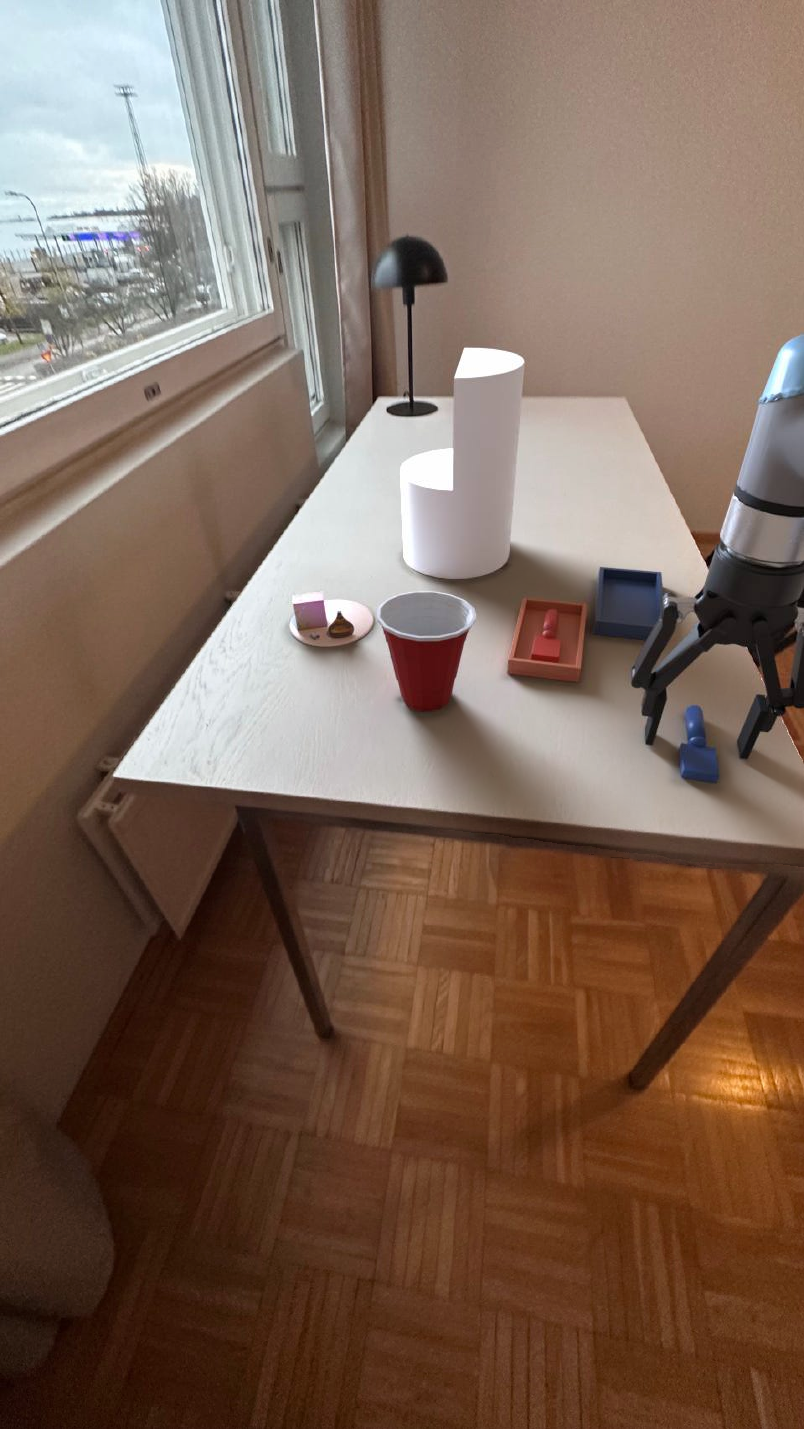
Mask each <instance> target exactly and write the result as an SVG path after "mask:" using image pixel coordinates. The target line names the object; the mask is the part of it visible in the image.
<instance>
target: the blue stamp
mask: <svg viewBox="0 0 804 1429" xmlns="http://www.w3.org/2000/svg"><path fill="white" fill-rule="evenodd" d="M684 717H685V727H686V736H687V743H686V742H681V743H680V745H679V747H678V757H679V758H678V760H679V768H680V778H681V779H687V780H694V781H699V782H700V781H701V782H707V783H714V784H716V783H718V780H719V778H720V770H719V764H718V763H719V762H718V757H717V750H716V747H714V746H707V744H708V742H707V741H708V740H707V735H706V734H707V733H706V725H705V718H704V711H703V708H702V707H700V706H699V705H697V704H690V705H688V706H687V707H686V709H685V711H684Z"/></svg>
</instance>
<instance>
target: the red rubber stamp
mask: <svg viewBox="0 0 804 1429" xmlns="http://www.w3.org/2000/svg"><path fill="white" fill-rule="evenodd" d="M558 619H559V613H558V612H557V611H556V610H555V609H550V610H548V611H547V612H546V614H545V620H544V625H543V630H542V636H535V639H534V644H533V649H532V654H531V660H535V661H543V662H551V663H558V662H559V655H560V648H561V641H562V639H559V638H556V632H557V625H558Z"/></svg>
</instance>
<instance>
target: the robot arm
mask: <svg viewBox="0 0 804 1429" xmlns="http://www.w3.org/2000/svg"><path fill="white" fill-rule="evenodd" d="M754 419H755V420H754V422H753V425H752V430H751V434H750V437H749V440H748V441H749V442H748V444H747V448H746V451H745V455H744V458H743V461H742V464H741V468H740V471H739V474H738V475H739V476H738V478H737V479H736V482H735V486H734V489H733V493H732V496H731V498H730V499H731V500H730V502H729V505H728V508H727V512H726V515H725V517H724V520H723V524H722V527H721V529H720V534H719V538H720V541H719V542H717V544H716V546H715V549H714V553H713V556H712V558H711V562H710V565H709V569H708V572H707V575H706V578H705V582H704V585H703V586H702V588H701V589H700V591H697V593H696V594H695V596H694V597H691V596H689V597H677V595H676V594H675V593H674V592H671V591H670V592H666V593H664V594H663V600H662V610H661V615H660V617H659V618H658V620H657V622H656V624H655V626H654V628H653V629H652V631H651V633H650V635H649V637H648V639H647V640H645V642H644V644H643V646H642V648H641V649H640V651H639V653H638V655H637V657H636V659H635V661H634V662H633V664H632V666H631V668H630V685H631V687H632V688H634V689H640V688H641V689H643V690H644V692H643V696H642V700H641V703H640V704H641V706H640V707H641V715H642V717H647V720H646V723H645V726H644V744H645V746H646V745H647V746H654V743H655V740H656V736H657V733H658V730H659V726H660V723H661V719H662V716H663V714H664V710H665V706H666V703H667V700H668V696H667V695H668V694H667V688H668V687H669V686H670V685H671V684H672V683H673V682H674V681H675V680H676V679H677V678H678V677H679V676H680V675H681V674H682V673H683V672H684V671H685V670H686V669H687V668H688V667H690V666H691V665H692V664H693V662H695V661H696V660H697V659H698V658H699V657H700V656H701V655H702V654H703V653H708V652H709V651H710V650H711V649H712V648H713V647H714V646H715V645H723V646H728V645H736V646H739V647H742V648H751V649H752V648H753V646H756V652H757V656H758V661H759V665H760V669H761V670H760V671H761V674H762V675H761V676H762V678H763V682H764V688H765V693H766V694H761V693H756V694H755V697H754V699H753V701H752V704H751V706H750V708H749V711H748V713H747V715H746V718H745V720H744V723H743V724H742V727H741V730H740V732H739V734H738V737H737V739H736V746H737V751H738V756H739V759H742V760H749V758H750V755H751V753H752V750H754V747H755V744H756V742H757V740H758V738H759V735H760V734H761V733H767V734H768V733H769V732H770V731H771V730H772V729H773V728H774V725H775V723H776V721H777V719H778V717H781V716H784V715H785V714H786V712H787V709H786V708H789V707H794V708H795V709H801V710H802V709H804V607H800V606H798V601H799V599H800V598H801V595H802V593H803V590H804V333H803V334H800V335H798V336H797V335H796V336H795V337H793V338H791V339H790V340H788V341H787V342H786V343H784V344H783V346H782V347H781V348H780V350H779V351H778V353H777V356H776V358H775V361H774V364H773V367H772V369H771V372H770V374H769V377H768V379H767V382H766V384H765V387H764V390H763V393H762V395H761V396H760V397H759V399H758V408H757V410H756V414H755V418H754ZM690 613H694V614H695V615H696V617H697V619H698V620H697V622H696V623H695V624H694V625H693V626H692V628H691V630H690V632H689V633H688V634H687V635H686V636H685V637H684V638H683V639H682V640H681V641H680V642H679V643H678V644H677V645H676V646H675V647H674V648H673V649H672V650H671V651H670V652H669V653H668V654H667V655H666V656H665V657H664V658H663V659H662V661H660V662H659V663H658V661H659V659H660V657H661V655H662V653H663V652H664V651H665V648H666V647H667V645H668V643H669V642H670V640H671V638H672V637H673V635H674V632H675V630H676V627H677V624H682V622H683V621H685V619H686V617H687V615H688V614H690ZM793 623H794V626H795V630H796V632H797V634H796V639H795V646H794V650H793V651H794V653H793V657H792V658H793V659H792V664H791V671H790V677H789V678H790V679H789V684H788V687H784V688H782V686H781V682H780V677H779V670H778V666H777V662H776V657H775V650H774V645H773V642H772V641H773V640H772V637H773V636H775V635H776V634H778V633H779V632H781V631H782V630H784V629H785V628H787V627H788V626H790V625H791V624H793ZM657 663H658V664H657ZM656 664H657V665H656Z"/></svg>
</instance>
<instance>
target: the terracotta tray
mask: <svg viewBox="0 0 804 1429" xmlns="http://www.w3.org/2000/svg"><path fill="white" fill-rule="evenodd" d="M550 609H555V610H556V611H557V612H558V613H559V619H558V625H557V632H556V638H559V639H562V641H561V648H560V655H559V662H558V663H551V662H543V661H535V660H531V654H532V649H533V644H534V639H535V636H542V630H543V625H544V620H545V614H546V612H547V611H548V610H550ZM587 610H588V603H584V602H583V603H582V602H573V601H564V600H553V599H545V598H533V597H522V600H521V606H520V608H519V613H518V617H517V621H516V626H515V631H514V633H513V638H512V642H511V646H510V649H509V650H510V651H509V656H508V658H507V668H506V674H510V675H518V676H523V677H524V676H525V677H533V678H541V679H549V680H555V681H556V680H557V681H564V682H572V683H579V682H580V677H581V671H582V664H583V653H584V642H585V630H586V622H587V621H586V620H587Z"/></svg>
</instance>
